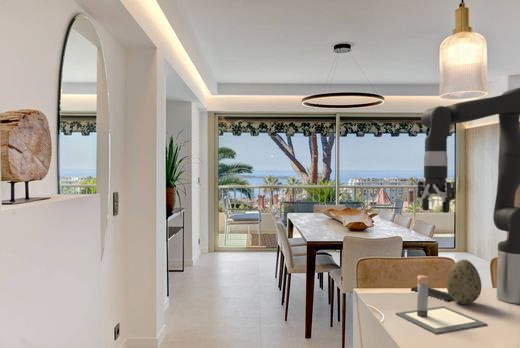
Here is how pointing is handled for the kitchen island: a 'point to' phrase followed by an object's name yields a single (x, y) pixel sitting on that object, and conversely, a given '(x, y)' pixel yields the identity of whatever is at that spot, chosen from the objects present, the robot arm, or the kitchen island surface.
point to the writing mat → (441, 320)
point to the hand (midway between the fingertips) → (435, 211)
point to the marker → (422, 296)
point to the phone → (436, 294)
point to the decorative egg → (463, 282)
